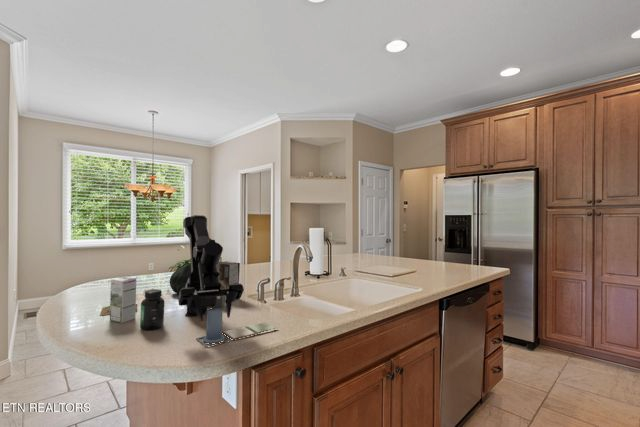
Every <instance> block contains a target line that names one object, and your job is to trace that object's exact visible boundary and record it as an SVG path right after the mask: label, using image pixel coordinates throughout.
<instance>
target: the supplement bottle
mask: <svg viewBox="0 0 640 427" xmlns="http://www.w3.org/2000/svg"><path fill="white" fill-rule="evenodd" d="M139 320H140V322H139V328H140V330H141V331H143V332H144V331H145V332H150V331H157V330H160V329H162V328H163V327H164V324H165V299H164V298H162V290H161V289H148V290H145V291H144V299H143V300H142V301H141V302H140V319H139Z"/></svg>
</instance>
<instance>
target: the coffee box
mask: <svg viewBox="0 0 640 427" xmlns="http://www.w3.org/2000/svg"><path fill="white" fill-rule="evenodd" d="M240 269H241V263H240V262H234V261H227V260H226V261H221V262H220V261H219V263H218V264H217V270H218V272H219V281H220V283H221V290H222V289H229V286H230V284H240V272H241V271H240ZM225 301H226V296H225Z"/></svg>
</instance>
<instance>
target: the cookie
mask: <svg viewBox="0 0 640 427" xmlns="http://www.w3.org/2000/svg"><path fill="white" fill-rule="evenodd" d="M136 313H138V304H136ZM105 316H110V305H109V306H104V307H102V308H101V311H100V314H99V317H105Z"/></svg>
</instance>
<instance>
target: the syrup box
mask: <svg viewBox="0 0 640 427" xmlns="http://www.w3.org/2000/svg"><path fill="white" fill-rule="evenodd" d="M109 300H110V302H109V304H110V305H109V306H110V315H109V321H110V322H115V323H121V324H122V323H126V322H129V321H133V320H135V319H136V313H137V312H136V303H137V277H130V276H120V277H115V278H111V279H110V298H109Z"/></svg>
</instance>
